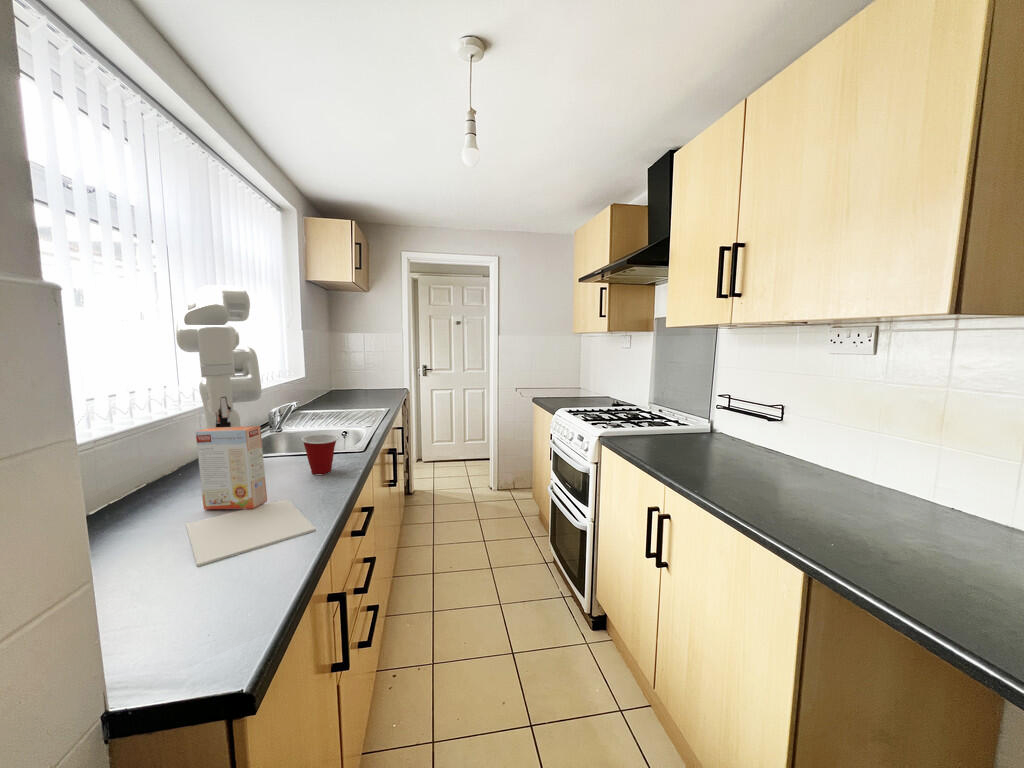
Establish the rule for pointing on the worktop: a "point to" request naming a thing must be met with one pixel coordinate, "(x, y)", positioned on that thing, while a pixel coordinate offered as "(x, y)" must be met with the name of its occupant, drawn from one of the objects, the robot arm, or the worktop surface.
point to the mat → (245, 530)
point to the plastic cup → (320, 452)
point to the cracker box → (231, 467)
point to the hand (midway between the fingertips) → (224, 436)
